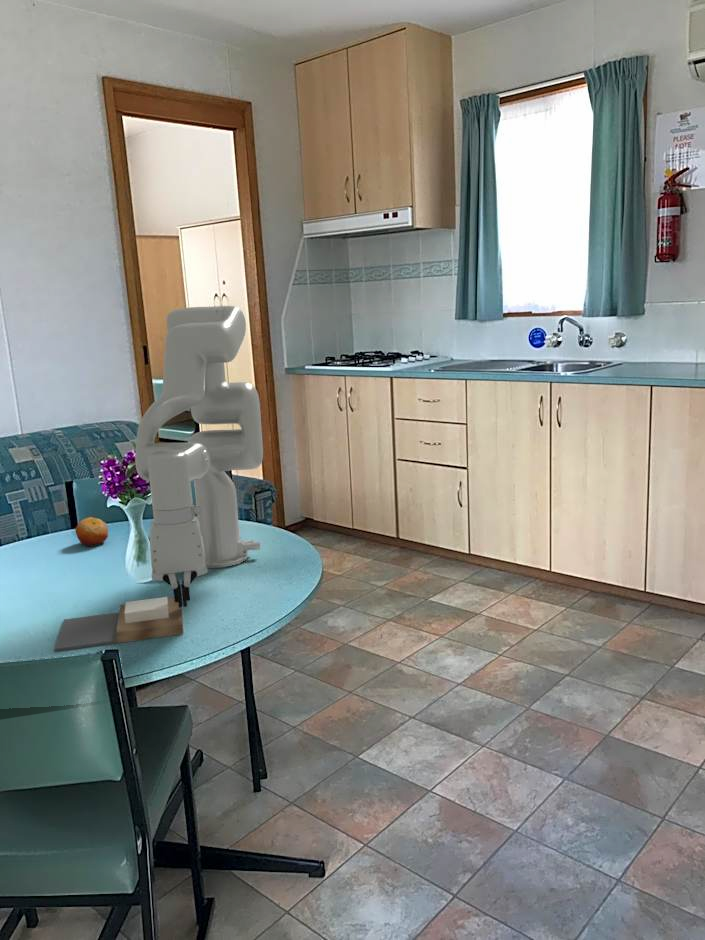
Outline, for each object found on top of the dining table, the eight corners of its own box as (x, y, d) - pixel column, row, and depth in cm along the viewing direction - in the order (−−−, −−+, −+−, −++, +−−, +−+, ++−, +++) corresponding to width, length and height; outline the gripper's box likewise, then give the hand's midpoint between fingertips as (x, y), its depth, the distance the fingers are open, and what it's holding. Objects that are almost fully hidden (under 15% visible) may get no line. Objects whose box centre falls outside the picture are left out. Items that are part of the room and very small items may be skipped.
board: (181, 606, 160) (180, 597, 160) (183, 633, 147) (182, 623, 146) (121, 614, 157) (120, 605, 157) (117, 642, 144) (116, 632, 144)
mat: (121, 614, 157) (121, 612, 157) (117, 642, 144) (117, 640, 144) (64, 621, 155) (64, 619, 155) (54, 651, 142) (54, 648, 142)
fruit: (91, 531, 212) (98, 509, 208) (109, 549, 209) (115, 527, 205) (65, 539, 206) (71, 516, 202) (83, 558, 203) (89, 535, 199)
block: (168, 606, 155) (167, 596, 155) (168, 617, 150) (167, 607, 149) (127, 611, 154) (125, 602, 153) (125, 623, 148) (124, 613, 147)
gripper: (211, 505, 154) (219, 593, 158) (134, 514, 151) (144, 602, 155) (214, 515, 147) (222, 606, 151) (132, 524, 144) (143, 617, 148)
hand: (182, 604), depth 153 cm, fingers closed
